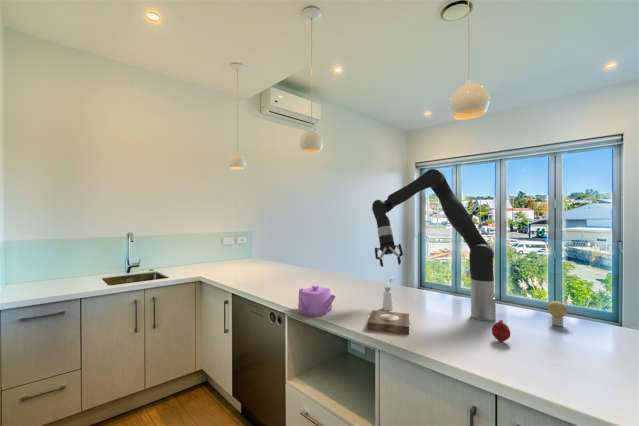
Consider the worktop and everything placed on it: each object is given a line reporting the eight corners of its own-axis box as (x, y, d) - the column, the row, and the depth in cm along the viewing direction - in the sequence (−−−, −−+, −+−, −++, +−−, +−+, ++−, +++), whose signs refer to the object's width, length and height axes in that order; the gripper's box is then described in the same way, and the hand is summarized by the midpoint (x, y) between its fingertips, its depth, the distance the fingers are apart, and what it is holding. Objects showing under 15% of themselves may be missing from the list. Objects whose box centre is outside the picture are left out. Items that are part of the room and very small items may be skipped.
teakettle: (328, 305, 148) (328, 281, 148) (336, 316, 131) (336, 289, 132) (296, 307, 145) (296, 282, 145) (299, 318, 128) (299, 291, 129)
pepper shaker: (381, 307, 145) (381, 285, 145) (392, 307, 145) (392, 285, 145) (383, 310, 140) (383, 288, 140) (394, 310, 139) (394, 288, 140)
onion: (510, 346, 100) (510, 324, 100) (491, 343, 103) (491, 320, 103) (510, 340, 105) (509, 319, 105) (491, 337, 108) (491, 316, 108)
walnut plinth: (409, 320, 126) (408, 313, 126) (409, 334, 111) (409, 326, 111) (372, 316, 131) (372, 309, 131) (367, 329, 115) (367, 321, 115)
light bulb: (548, 321, 125) (548, 298, 125) (568, 325, 120) (567, 301, 121) (546, 325, 121) (546, 301, 121) (566, 329, 116) (566, 304, 116)
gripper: (398, 235, 156) (404, 264, 151) (372, 238, 159) (377, 268, 154) (399, 232, 149) (405, 263, 144) (371, 236, 152) (376, 266, 147)
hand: (390, 265), depth 149 cm, fingers open, 8 cm apart
